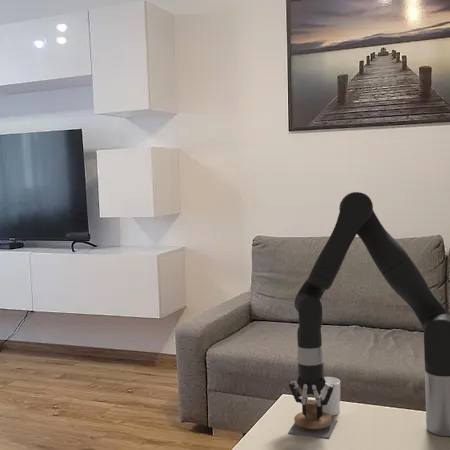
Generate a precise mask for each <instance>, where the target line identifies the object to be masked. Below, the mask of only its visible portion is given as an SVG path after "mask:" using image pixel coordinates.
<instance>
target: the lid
mask: <svg viewBox="0 0 450 450" xmlns="http://www.w3.org/2000/svg"><path fill="white" fill-rule="evenodd" d="M332 417H333V416H330V415H329V414H327V413H324V412H323V415H322V416H321V417H320V419H319V418H317V402H316V399H308V400H307V402H306V417H305V415H303V412H302V411H301V412H299V413H297V414H295V416H294V418H293V421H294V423H295V424H296V425H298V426H299V427H302V428H306V429H321V428H325V427H327V426H329V425H330V424H331V423H332Z"/></svg>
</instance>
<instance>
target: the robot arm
mask: <svg viewBox="0 0 450 450" xmlns="http://www.w3.org/2000/svg"><path fill="white" fill-rule="evenodd" d="M356 236H358V237H359V238H360V240H361V241H362V242H363V244H364V246H365V248H366V250H367V252H368V253H369V255H370V257H371V260H372V261H373V263H374V264H375V266H376V268H377V269H378V271H379V272H380V273H381V275H382V277H384V280H385V281H386V282H387V283H388V285H389V286H390V287H391V289H392V290H393V291H394V292H395V294H397V295H398V296H399V297H400V298H401V299H402V300H403V301H404V302H405V303H407V305H409V307H410V308H411V309H412V311H413V313H414V314H415V316H416V317H417V319H418V321H419V322H420V324H421V326H422V329H423V349H424V351H423V353H424V384H425V385H424V386H425V416H426V417H425V423H426V424H425V425H426V430H427V431H428V432H430V433H431V434H433V435H436V436H441V437H442V436H443V437H450V313H449V312H448V310H447V309H446V308H444V307H443V305H442V304H441V303H440V302H439V300H438V299H437V297H436V296H435V295H434V294H433V292H432V291H431V289H430V287H429V286H428V283H427V282H426V280H425V278H424V276H423V275H422V273H421V272H420V270H419V268H418V267H417V266H416V264H415V262H414V261H413V259H411V257H410V255H409V254H408V253H407V252H406V250H405V249H404V248H403V247H402V246H401V244H399V242H398V241H397V240H396V239H395V237H393V236H392V235H391V234H390V233H389V232H388V231H387V230H386V229H385V227H384V226H383V225H382V223H381V221H380V219H379V218H378V216H377V214H376V213H375V211H374V204H373V201H372V199H371V198H370V196H369V195H368V194H366V193H365V192H362V191H353V192H349V193H348V194H346V195H345V196H344V197H343V198H342V199H341V200H340V203H339V213H338V215H337V220H336V223H335V225H334V227H333V230H332V232H331V234H330V236H329V238H328V240H327V241H326V243H325V245H324V247H323V248H322V249H321V252H320V253H319V255H318V258H317V259H316V261H315V262H314V265H313V266H312V269H311V271H310V274H309V276H308V277H307V279H306V280H305V281H304V283H303V284H302V286H301V287H300V288H299V290H298V292H297V294H296V296H295V299H294V308H295V310H296V312H297V313H298V328H297V336H296V337H297V350H296V351H297V352H296V353H297V354H296V355H297V356H296V360H297V379H296V380H291V381H290V382H289V384H288V387H289V390H290V391H291V394H292V396H293V399H294V401H295V402H296V403H300V404H301V405H302V406H301V408H302V409H301V410H302V411H301V412H303V415H305V417H306V402H307V401H308V400H309V395H312V396H313V397H314V400H316V402H317V418H319V419H320V417H321V416H322V415H323V405H327V403H328V401H329V399H330V397H331V394H332V392H333V389H334V387H335V386H334V385H333V384H331V385H330V384H328V383H326V381H325V379H324V377H325V372H324V371H325V369H324V350H323V342H322V340H323V339H322V325H323V324H322V323H323V305H322V302H321V298H322V297H323V295H324V293H325V292H326V291H327V290H329V289H330V288H331V287H332V285H333V283H334V281H335V279H336V277H337V275H338V273H339V271H340V269H341V267H342V264H343V262H344V260H345V257H346V255H347V253H348V251H349V249H350V247H351V245H352V243H353V241H354V239H355V238H356ZM323 387H325V388H326V392H327V394H326V396H325V399H323V400H322V393H321V390H322V389H323ZM299 388H300V390H302V395H301V393H300V391H299Z"/></svg>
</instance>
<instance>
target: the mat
mask: <svg viewBox="0 0 450 450" xmlns="http://www.w3.org/2000/svg"><path fill="white" fill-rule="evenodd" d="M338 421H339V420H338V419H334V418H333V419H332V423H331V424H330V425H329V426H327V427H325V428H321V429H306V428H302V427H299V426H298V425H296V424H295V422H294V423H293V425H292V426H291V427H290V429H289V431H288V432H287V434H288V435H297V436H306V437H313V438H320V439H321V438H323V439H330V437H331V435H332V434H333V431H334V430H335V427H336V425H337V423H338Z"/></svg>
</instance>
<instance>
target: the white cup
mask: <svg viewBox="0 0 450 450" xmlns="http://www.w3.org/2000/svg"><path fill="white" fill-rule="evenodd" d="M324 379H325V381H326V383H328V384H330V385H331V384H333V385H334V386H335V387H334V389H333V392H332V394H331V397H330V399H329V401H328V403H327V405H323V412H324V413H327V414H329V415H330V416H331V417H334V416H337V415H338V414H340V410H341V408H340V406H341V404H340V403H341V380H340V379H339V378H337V377H333V376H324ZM321 393H322V400H323V399H325V396H326V394H327V392H326V388H325V387H323V389H322V390H321Z"/></svg>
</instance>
